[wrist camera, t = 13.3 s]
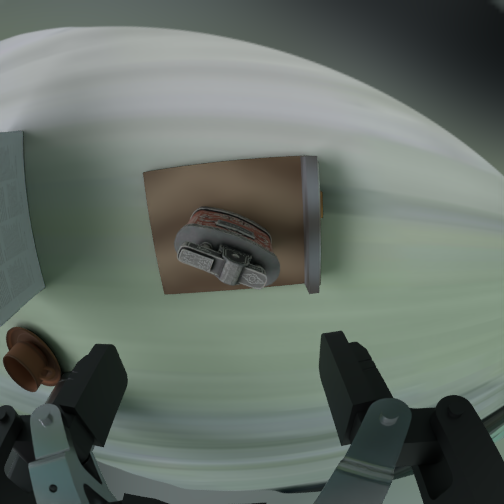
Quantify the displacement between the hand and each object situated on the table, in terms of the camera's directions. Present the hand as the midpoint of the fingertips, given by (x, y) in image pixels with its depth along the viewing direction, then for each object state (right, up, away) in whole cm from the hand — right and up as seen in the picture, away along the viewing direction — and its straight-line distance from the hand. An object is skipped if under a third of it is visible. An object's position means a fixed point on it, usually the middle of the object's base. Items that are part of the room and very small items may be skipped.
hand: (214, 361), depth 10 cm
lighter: (-1, +6, +18) cm, 19 cm away
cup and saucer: (-34, -12, +25) cm, 44 cm away
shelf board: (-1, +7, +19) cm, 20 cm away
